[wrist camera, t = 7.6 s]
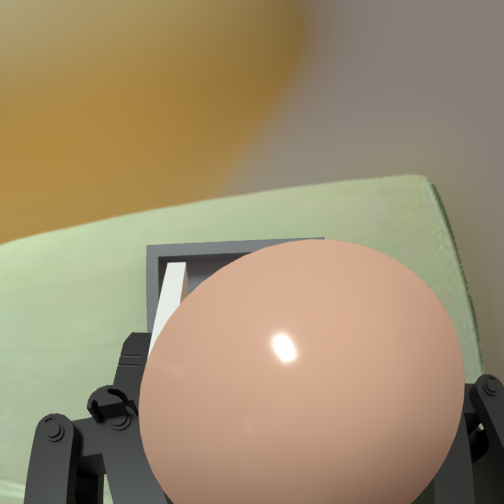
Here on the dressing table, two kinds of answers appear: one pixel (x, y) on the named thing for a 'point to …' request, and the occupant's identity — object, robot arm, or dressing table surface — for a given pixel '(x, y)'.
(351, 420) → the peach domed cylinder
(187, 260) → the tray
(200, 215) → the dressing table surface
